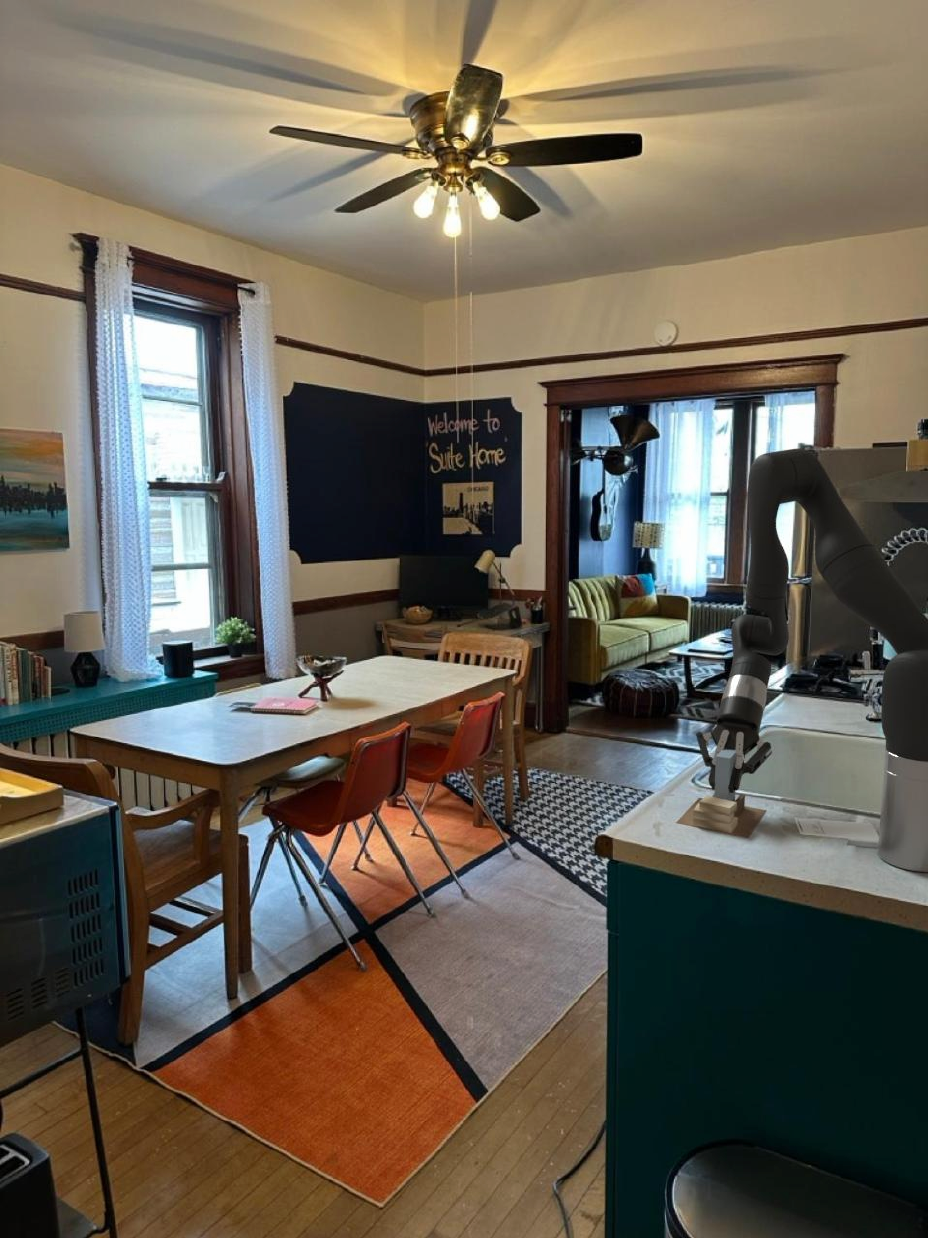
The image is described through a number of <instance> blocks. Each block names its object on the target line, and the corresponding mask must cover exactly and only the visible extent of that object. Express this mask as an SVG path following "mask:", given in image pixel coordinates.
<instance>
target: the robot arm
mask: <svg viewBox="0 0 928 1238" xmlns="http://www.w3.org/2000/svg"><path fill="white" fill-rule="evenodd" d="M747 483H748V484H747V485H748V487H747V488H748V489H747V490H748V492H747V493H748V519H749V520H748V521H749V522H748V523H749V539H750V550H749V551H750V555H749V556H750V557H749V568H748V574H747V583H746V591H745V603H746V604H747V605H748V607H750V608H751V609H752V610H753V609H754V610H756V611H758V612H760V613H763V614H765V615H766V616H768V617H766V616H760V615H752V614H747V613H746V614H745V613H744V614H740V615H739V616H737V617H736V618H735V619H734V621H733V623H732V625H731V628H730V629H731V630H730V631H731V632H730V635H731V644H732V664H731V669H730V673H729V676H728V679H727V683H726V685H725V688H724V691H723V694H722V697H721V702H720V704H719V708H718V709H719V710H718V713H717V718H716V721H715V725H714V726H713V727H712V728H711V730H710V731H709V732H705V733H703V732H701V731H697V732H696V734H695V736H696V740H697V742H698V746H699V747H698V748H699V750H700V752H701V753H700V754H701V757H702V759H703V762H704V766H705V767H708V768H710V770H709V771H710V772H709V774H708V775H709V776H708V778H707V779H708V784H709V786H710V787H711V789H712V790H714V791H715V767H716V756H717V755H718V754H719V753H720V751H721V750H724V749H730V750H735V752H736V754H735V767H734V769H733V770H732V774H731V779H730V783H729V786H728V789H729V791H730V793H734V792H735V793H736V791H739V789H740V786H741V781H742V777H743V775H744V774H750V775H753V774H755V772H756V771H757V770H758V769H759V768H760V767H761V766H762V765H763V764H764V762H766V760H767V759H768V758H769V757H770V756H771V755H772V754H773V747H772V744H771V743H770V742H768V741H766V742H765V741H763V740H761V738H760V729H761V725H762V720H763V715H764V711H765V709H766V702H767V692H768V686H769V682H770V678H771V673H772V664H771V662H770V661H769V660H768V658H766V657H765V656H763V655H762V654H764V655H768V656H779V655H780V654H782V653H784V651H785V650H786V648H787V647H788V645H789V640H790V633H789V627H788V622H787V615H786V607H785V605H786V593H787V588H788V582H789V581H788V580H789V574H790V572H789V570H790V568H789V567H790V566H789V560H788V555H787V553H786V551H785V548H784V546H783V545H782V542H781V539H780V537H779V534H778V531H777V529H778V528H777V518H778V514H779V513H778V512H779V509H780V507H781V506H780V505H783V504H787V503H793V502H797V504H799V505H800V506H801V507H802V509H803V511H805V513H806V515H807V516H808V518H809V519H810V520H811V521H810V522H811V523H812V525H813V528H814V536H815V537H814V558H815V559H814V561H815V566H816V568H817V570H818V572H819V574H820V576H821V578H822V579H823V580H824V581H825V583H826V584H827V586H828V588H829V589H830V591H831V592H832V594H833V595H834V597H835V598H836V599H837V601H839V603H840V604H842V605H843V607H845V608H846V609H847V610H849V612H851V613H852V614H854V615H855V616H856V617H857V618H858V619H860V620H861V621H863V622H865V623H866V624H868V625H869V626H870V627H871V628H872V629H874V630H875V631H877V632H878V633H879V634H880V635H881V636H882V637H883V638H884V639H885V640H886V641H887V642H888V643H889V645H890V646H891V647H892V649H893V650H894V651H895V653H896V655H894V656H893V657H891V659H890V660H888V663H887V664H886V667H885V669H884V672H883V674H882V675H883V676H882V683H881V715H880V717H881V719H880V721H881V729H882V732H883V735H884V738H885V751H884V763H883V765H884V766H883V776H882V777H883V778H882V790H881V791H882V792H881V793H882V794H881V805H880V817H879V819H880V820H879V833H878V835H879V840H878V848H877V851H878V852H877V854H878V856H879V858H880V859H881V860H883V861H884V862H886V863H888V864H890V865H892V866H895V867H898V868H900V869H904V870H907V871H913V872H921V873H922V872H924V873H928V618H927V616H926V615H925V613H923V611H922V610H921V608H920V607H919V606H918V605H917V604H916V602H915V600H914V599H913V598H912V595H910V593H909V592H908V591H907V589H906V588H905V587H904V585H903V584H902V583H901V581H899V578H897V576H896V575H895V573H894V571H892V569H891V567H890V566H889V564H888V563H887V561H886V560H885V559H884V557H883V556H882V555H881V553H880V552H879V549H877V547H876V546H875V545H874V543H872V541H871V540H870V539H869V537H868V536H867V535H866V534H865V532H864V531H863V529H862V528H861V527H860V525H859V523H858V522H857V521H856V519H855V518H854V516H853V514H852V513H851V511H850V510H849V509H848V508H847V506H846V504H845V503H844V501H843V500H842V498H841V496H840V494H839V493H838V491H837V490H836V488H835V486H834V484H833V482H832V480H831V479H830V476H829V475H828V473H827V471H826V469H825V468H824V466H823V465H822V463H821V461H820V460H819V459H818V457H817V456H816V455H815V454H814V453H813V452H811V451H810V450H808V449H805V448H791V449H785V450H777V451H771V452H765V453H763V454H761V455H759V456H757V457H756V458H755V459H754V460H753V462H752V464H751V465H750V469H749V473H748V482H747ZM711 740H713V742H714V744H715V746H716V748H715V753H714V754H713V757H712V756H710V754H709V750H708V747H709V745H710V744H711ZM755 748H756V751H755V753H753V755H752V756H751V757H750V758H749V759H748V760H747V761H746V755H747V754H749V753H750V752H751V751H753V749H755ZM735 790H736V791H735Z"/></svg>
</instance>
